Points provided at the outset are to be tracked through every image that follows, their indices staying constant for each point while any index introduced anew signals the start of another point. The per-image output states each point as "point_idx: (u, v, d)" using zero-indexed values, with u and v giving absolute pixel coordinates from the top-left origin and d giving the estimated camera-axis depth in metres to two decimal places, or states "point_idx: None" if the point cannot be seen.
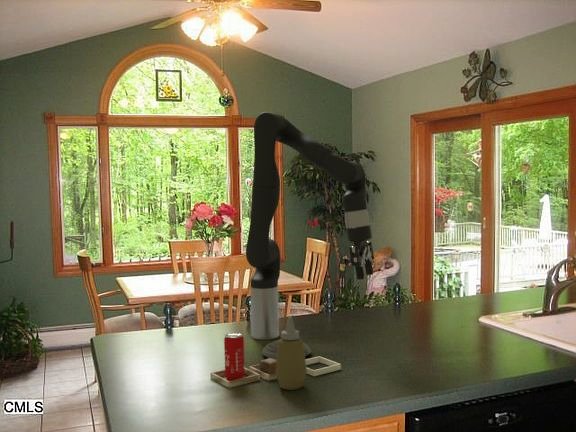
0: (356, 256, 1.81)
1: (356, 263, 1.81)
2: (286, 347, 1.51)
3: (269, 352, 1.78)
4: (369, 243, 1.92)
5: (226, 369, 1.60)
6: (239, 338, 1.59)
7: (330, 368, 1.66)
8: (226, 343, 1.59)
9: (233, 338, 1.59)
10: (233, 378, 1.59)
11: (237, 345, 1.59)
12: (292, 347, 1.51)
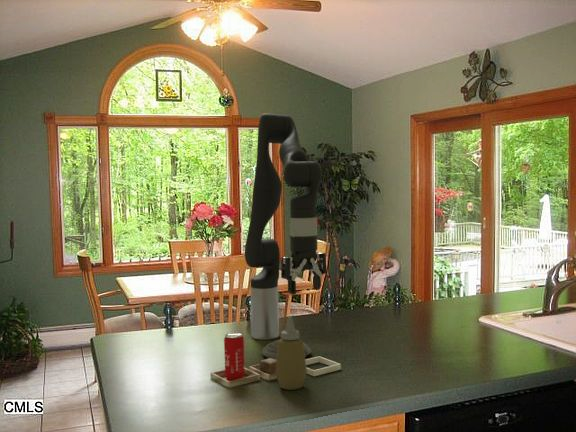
0: (285, 268, 1.62)
1: (284, 276, 1.62)
2: (286, 347, 1.51)
3: (269, 352, 1.78)
4: (321, 255, 1.69)
5: (226, 369, 1.60)
6: (239, 338, 1.59)
7: (330, 368, 1.66)
8: (226, 343, 1.59)
9: (233, 338, 1.59)
10: (233, 378, 1.59)
11: (237, 345, 1.59)
12: (292, 347, 1.51)
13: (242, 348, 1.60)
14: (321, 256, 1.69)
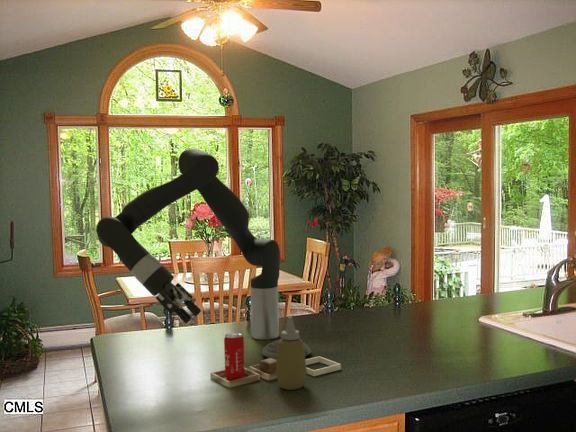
0: None
1: None
2: (286, 347, 1.51)
3: (269, 352, 1.78)
4: None
5: (226, 369, 1.60)
6: (239, 338, 1.59)
7: (330, 368, 1.66)
8: (226, 343, 1.59)
9: (233, 338, 1.59)
10: (233, 378, 1.59)
11: (237, 345, 1.59)
12: (292, 347, 1.51)
13: (242, 348, 1.60)
14: None
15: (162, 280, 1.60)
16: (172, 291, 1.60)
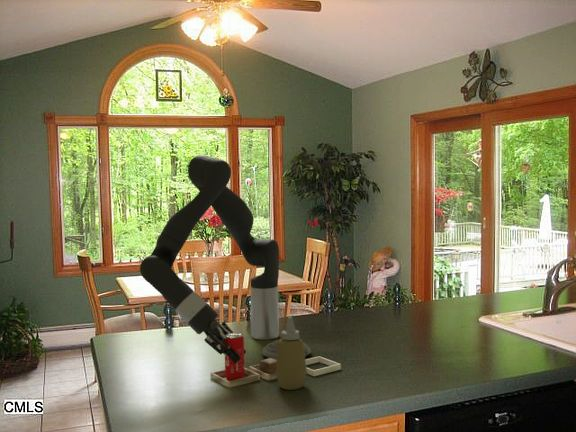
0: None
1: None
2: (286, 347, 1.51)
3: (269, 352, 1.78)
4: None
5: (226, 369, 1.60)
6: (239, 338, 1.59)
7: (330, 368, 1.66)
8: None
9: (233, 338, 1.59)
10: (233, 378, 1.59)
11: (237, 345, 1.59)
12: (292, 347, 1.51)
13: (242, 348, 1.60)
14: None
15: (208, 319, 1.59)
16: (218, 330, 1.60)
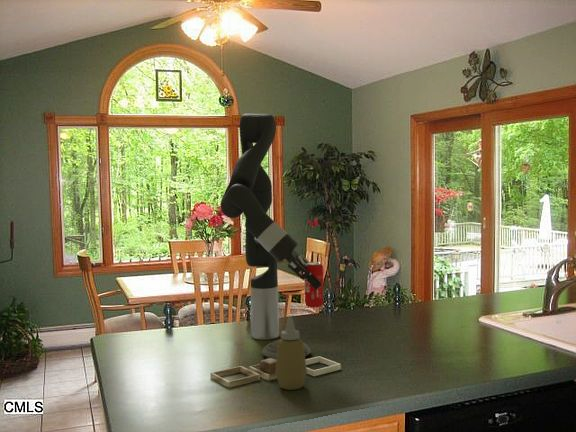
0: None
1: None
2: (286, 347, 1.51)
3: (269, 352, 1.78)
4: None
5: (306, 295, 1.66)
6: (319, 265, 1.66)
7: (330, 368, 1.66)
8: None
9: (314, 265, 1.65)
10: (313, 304, 1.66)
11: (318, 272, 1.65)
12: (292, 347, 1.51)
13: (322, 275, 1.66)
14: None
15: (289, 246, 1.65)
16: (299, 258, 1.66)
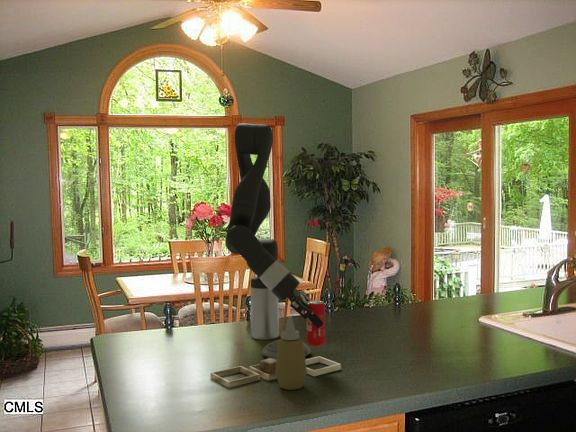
0: None
1: None
2: (286, 347, 1.51)
3: (269, 352, 1.78)
4: None
5: (308, 334, 1.67)
6: (321, 304, 1.66)
7: (330, 368, 1.66)
8: None
9: (316, 304, 1.66)
10: (315, 342, 1.66)
11: (320, 311, 1.66)
12: (292, 347, 1.51)
13: (324, 314, 1.67)
14: None
15: (291, 285, 1.66)
16: (301, 297, 1.66)
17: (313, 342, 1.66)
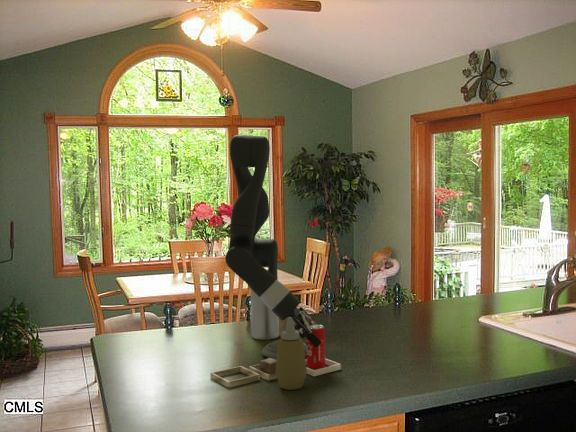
0: None
1: None
2: (286, 347, 1.51)
3: (269, 352, 1.78)
4: None
5: (308, 359, 1.68)
6: (321, 329, 1.67)
7: (330, 368, 1.66)
8: None
9: (316, 329, 1.66)
10: (315, 367, 1.67)
11: (320, 336, 1.66)
12: (292, 347, 1.51)
13: (324, 339, 1.68)
14: None
15: (292, 305, 1.66)
16: (301, 316, 1.67)
17: (313, 367, 1.67)
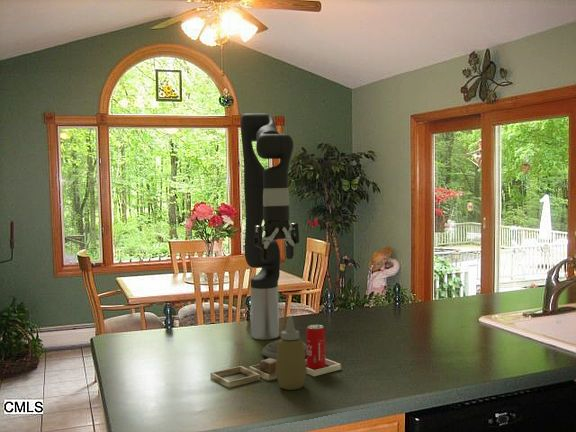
0: (257, 237, 1.68)
1: (257, 244, 1.69)
2: (286, 347, 1.51)
3: (269, 352, 1.78)
4: (294, 225, 1.75)
5: (308, 359, 1.68)
6: (321, 329, 1.67)
7: (330, 368, 1.66)
8: (309, 334, 1.67)
9: (316, 329, 1.66)
10: (315, 367, 1.67)
11: (320, 336, 1.66)
12: (292, 347, 1.51)
13: (324, 339, 1.68)
14: (294, 226, 1.75)
15: None
16: None
17: (313, 367, 1.67)
